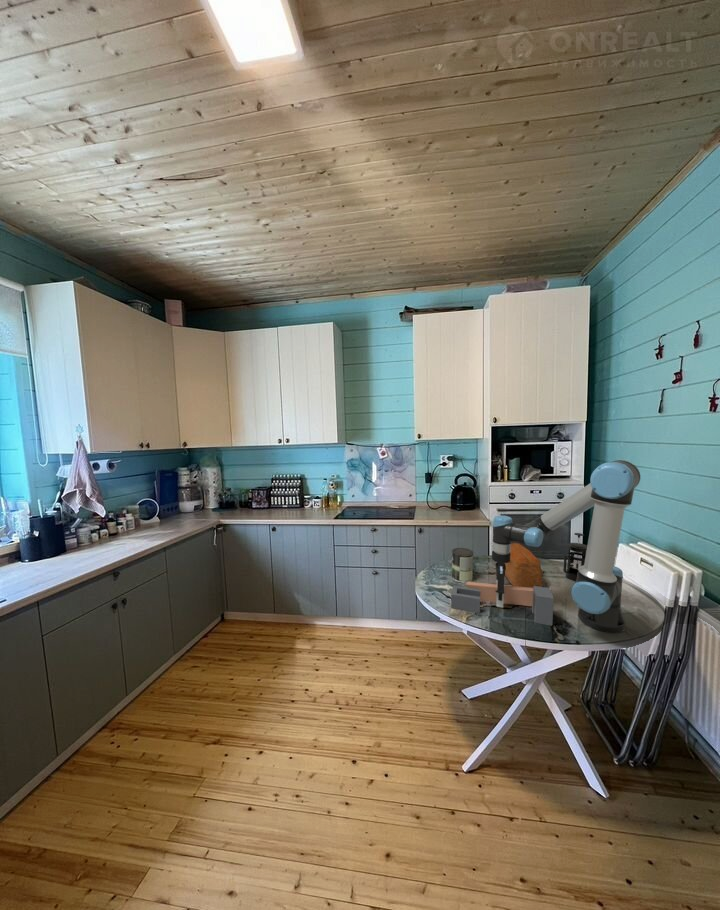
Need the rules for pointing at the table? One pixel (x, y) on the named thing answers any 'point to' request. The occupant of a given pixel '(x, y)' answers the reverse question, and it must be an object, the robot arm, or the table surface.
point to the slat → (510, 593)
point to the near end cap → (542, 605)
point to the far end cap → (465, 599)
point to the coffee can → (462, 565)
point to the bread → (523, 568)
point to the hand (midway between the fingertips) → (499, 600)
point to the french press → (574, 558)
